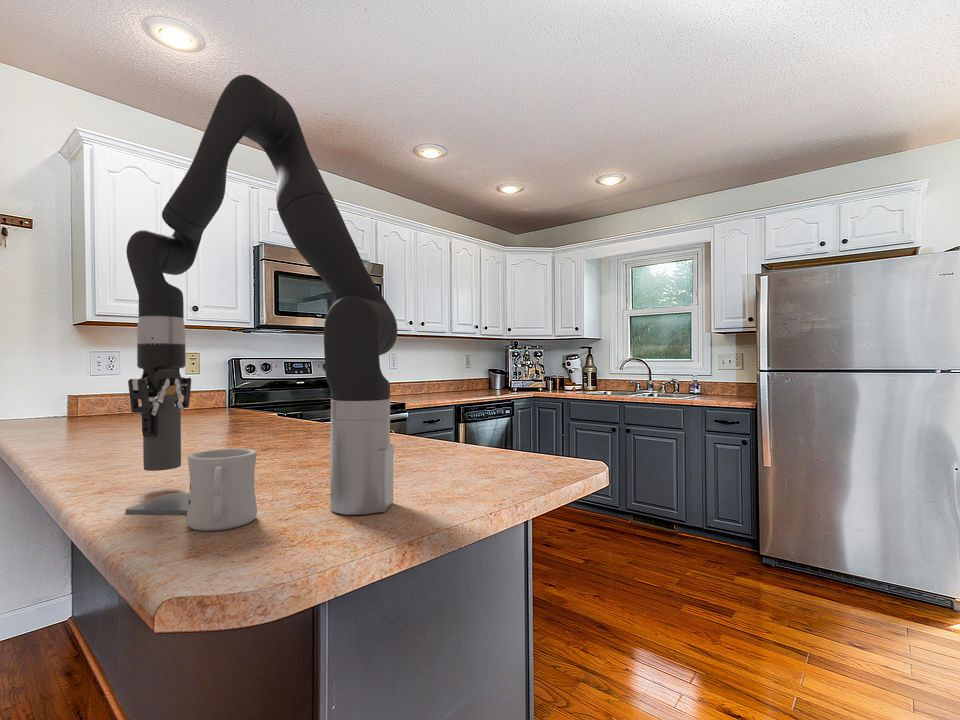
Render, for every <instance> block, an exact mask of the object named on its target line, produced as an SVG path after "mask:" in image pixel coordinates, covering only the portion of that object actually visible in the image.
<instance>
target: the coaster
mask: <svg viewBox="0 0 960 720" xmlns="http://www.w3.org/2000/svg"><path fill="white" fill-rule="evenodd" d="M189 497H190V492H189V493H183V492H182V493H181V492H180V493H178V492H175V493H173V492H172V493H171V492H169V493H165V494H163V495H160V496H158V497H156V498H153V499H149V500H147V501H145V502H142V503H139V504H136V505H133V506H132V507H129V508H126V509H125V514H126V515H127V514H128V515H129V514H138V515H139V514H141V515H145V514H146V515H187V511H188V504H189Z"/></svg>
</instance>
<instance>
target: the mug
mask: <svg viewBox="0 0 960 720" xmlns="http://www.w3.org/2000/svg"><path fill="white" fill-rule="evenodd" d="M257 452H258V451H256V450H255V449H249V448H221V449H220V448H219V449H210V450H209V449H208V450H203V451H197V452H194V453H190V454H189V455H188V456H187V463H188V472H189V493H190V497H189V504H188V511H187V514H186V525H187V526H188V527H189V528H190V529H191V530H195V531H200V532H202V531H204V532H206V531H207V532H209V531H210V532H213V531H223V530H228V529H234V528H238V527H242V526H246V525H247V524H249V523H251V522H252V521H254V520H255V519H256V517H257V515H258V508H257V498H256V491H255V490H256V488H255V472H256V461H257V454H258V453H257Z"/></svg>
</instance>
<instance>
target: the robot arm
mask: <svg viewBox="0 0 960 720" xmlns="http://www.w3.org/2000/svg"><path fill="white" fill-rule="evenodd" d="M243 137H244V138H246V139H249V140H250V141H252V142H253V143H256V144H257V145H259V146H260V147H261V148H262V149H263V151H264V152H265V154H266V156H267V157H268V159H269V161H270V162H271V165H272V167H273V169H274V171H275V174H276V177H277V187H276V196H275V198H276V199H275V201H276V209H277V212H278V215H279V217H280V219H281V222H282V224H283V227H284V229H285V230H286V232H287V236H288V237H289V239H290V241H291V242H292V244H293V245H294V247H295V249H296V250H297V252H298V253H299V254H300V255H301V257H303V259H304V260H305V262H306V263H307V264H308V265H309V266H310V267H311V269H312V270H313V271H314V272H315V273H316V274H317V275H318V276H319V277H320V278H321V280H322V281H323V283H325V285H326V286H327V287H328V289H329V291H330V292H331V293H332V295H333V297H334V299H335V302H334V303H333V304H332V305H331V306H330V308H329V309H328V311H327V313H326V316H325V320H324V325H323V347H324V348H323V351H324V370H325V377H326V383H327V384H328V387H329V390H330V493H329V494H330V495H329V499H330V510H331V512H333V513H336V514H340V515H346V516H347V515H349V516H350V515H352V516H355V515H359V516H360V515H369V514H374V513H385V512H386V511H387V510H388V509H389V508H390V507H391V505H392V504H393V503H394V445H393V444H392V443H391V384H390V382H389V380H388V379H387V378H386V377H385V376H384V374H383V372H382V370H381V365H380V364H381V363H380V361H381V360H380V356H383V355H385V354H387V353H389V352H390V350H391V349H392V348H393V347H394V345H395V344H396V342H397V341H396V340H397V336H398V324H397V323H398V322H397V319H396V316H395V314H394V313H393V310H392V309H391V308H390V306H389V304H388V303H387V301H386V299H385V298H384V297H383V295H382V293H381V292H380V291H379V289H378V287H377V285H376V284H375V282H374V280H373V279H372V277H371V276H370V274H369V272H368V271H367V269H366V266H365V264H364V262H363V259H362V257H361V255H360V253H359V250H358V248H357V246H356V244H355V242H354V240H353V238H352V236H351V234H350V231H349V229H348V227H347V225H346V223H345V221H344V218H343V216H342V214H341V212H340V210H339V208H338V206H337V204H336V202H335V199H334V197H333V195H332V194H331V192H330V190H329V189H328V186H327V185H326V183H325V181H324V179H323V177H322V175H321V172H320V170H319V169H318V166H317V164H316V163H315V161H314V159H313V157H312V155H311V152H310V150H309V148H308V145H307V143H306V139H305V136H304V134H303V130H302V128H301V125H300V122H299V119H298V117H297V115H296V112H295V110H294V108H293V107H292V105H291V104H290V103H289V101H288V100H287V99H286V98H285V97H284V96H283V95H281V94H280V93H278V92H277V91H276V90H275V89H273V88H271V87H270V86H268V85H267V84H266V83H264V82H263V81H261V80H260V79H258V77H255V76H253V75H250V74H240V75H236V76H235V77H233V78H232V79H231V80H230V81H229V82H228V83H227V84H226V85H225V87H224V89H223V91H222V92H221V94H220V95H219V98H218V100H217V102H216V104H215V107H214V109H213V111H212V114H211V116H210V119H209V121H208V123H207V125H206V127H205V130H204V132H203V134H202V137H201V140H200V143H199V145H198V148H197V149H196V152H195V154H194V157H193V159H192V162H191V163H190V166H189V167H188V169H187V171H186V173H185V175H184V177H183V178H182V179H181V182H180V183H179V185H178V186H177V187H176V189H175V190H174V192H173V193H172V195H171V196H170V197H169V199H168V201H167V203H166V204H165V206H164V207H163V210H162V211H161V217H162V220H163V222H164V224H166V225H167V226H168V227H169V228H171V229H172V230H173V231H174V232H173V233H172V235H169V234H168V235H167V234H164V233H160V232H156V231H153V230H149V229H141V230H138V231H135V232H134V233H133V234H131V236H130V238H129V239H128V242H127V244H126V259H127V262H128V263H127V264H128V265H129V270H130V272H131V275H132V279H133V282H134V285H135V288H136V291H137V294H138V322H137V329H136V343H137V344H136V352H137V353H136V354H137V355H136V356H137V357H136V365H137V368H139V369H142V375H141V377H140V378H129V379H128V381H127V384H128V392H129V399H130V407H131V412H132V413H133V414H138V415H139V416H141V433H142V437H143V436H144V437H155V436H157V416H155V415H156V414H157V411H158V408H159V405H160V404H161V403H162V402H163V400H164V396H165V393H166V390H165V389H166V388H167V386H169V385H176V386H177V387H176V392H175V395H178V400H177V401H175V406H176V407H178V408H179V409H180V411H181V413H183V412H184V409H188V408H189V407H190V401H191V399H190V398H191V391H192V390H191V389H192V377H190V376H189V377H187V376H184V377H182V375H181V372H180V369H184V368H185V367H186V359H187V358H186V357H187V356H186V327H185V322H184V318H185V315H184V314H185V313H184V309H185V308H184V306H185V305H184V294H183V292H182V290H181V289H180V288H179V287H177V286H176V285H175V286H174V285H172V284H170V283H169V282H167V280H166V278H165V275H164V274H167V275H170V276H171V275H172V276H179V275H182V274H184V273H185V272H187V271H188V270H189V269H190V268H191V267H192V266H193V264H194V263H195V260H196V257H197V253H198V251H199V248H200V247H199V246H200V244H201V240H202V236H203V233H204V231H205V230H206V228H207V227H208V225H209V224H210V222H211V221H212V220H213V218H214V217H215V215H216V214H217V213H218V211H219V209H220V207H221V205H222V203H223V201H224V197H225V193H226V186H227V185H226V184H227V170H228V165H229V164H228V163H229V160H230V158H231V154H232V153H233V150H234V149H235V147H236V146H237V144H239V142H240V141H241V139H242V138H243ZM148 396H156V397H154V398H149V397H148ZM182 399H183V401H182ZM139 400H140V402H141V405H139V404H140V403H139ZM149 404H152V406H151V408H150V405H149Z"/></svg>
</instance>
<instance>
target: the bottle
mask: <svg viewBox="0 0 960 720" xmlns="http://www.w3.org/2000/svg"><path fill="white" fill-rule="evenodd" d="M176 387H177V386H176V385H169V386H167V388H166V389H165V390H166V393H165V396H164V400H163V402H162V403H161V404H160V405H159V408H158V411H157V414H156V415H155V416H157V436H155V437H144V436H143V435H142V440H143V441H142V442H143V443H142V446H143V459H142V460H143V470H144V471H147V472H148V471H149V472H155V471H156V472H157V471H167V470H173V469H177V468H179V467H181V466H182V418H181V417H182V416H181V415H182V412H181V411H180V409H179V408H178V407H176V406H175V401H177V400H178V395H175V392H176ZM148 397H149V398H154V397H156V396H148ZM149 405H150V408H151V406H152V404H149Z"/></svg>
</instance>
